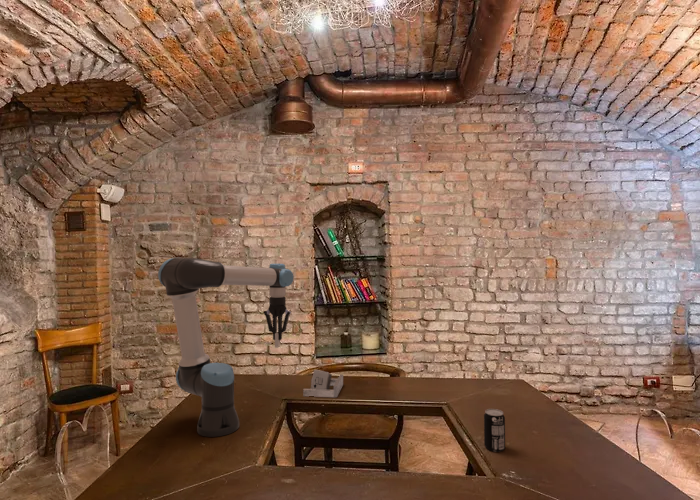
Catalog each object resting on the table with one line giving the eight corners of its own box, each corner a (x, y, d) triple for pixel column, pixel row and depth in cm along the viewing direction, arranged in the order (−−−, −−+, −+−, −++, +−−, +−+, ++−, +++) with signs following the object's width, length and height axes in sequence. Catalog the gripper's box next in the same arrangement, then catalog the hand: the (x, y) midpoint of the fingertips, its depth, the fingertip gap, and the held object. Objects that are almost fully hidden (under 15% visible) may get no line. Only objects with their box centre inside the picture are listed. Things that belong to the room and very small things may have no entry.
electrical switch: (310, 389, 207) (311, 369, 208) (317, 388, 211) (318, 368, 212) (324, 393, 201) (326, 373, 202) (332, 391, 205) (333, 371, 206)
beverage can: (488, 441, 149) (488, 406, 149) (508, 447, 145) (507, 411, 145) (481, 448, 144) (480, 412, 144) (500, 454, 140) (500, 417, 140)
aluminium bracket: (336, 397, 196) (336, 386, 196) (303, 396, 198) (303, 385, 198) (343, 384, 213) (343, 374, 213) (312, 383, 216) (312, 373, 216)
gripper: (293, 295, 207) (293, 345, 207) (266, 295, 209) (266, 344, 209) (288, 297, 200) (288, 349, 199) (261, 297, 202) (261, 348, 201)
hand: (277, 346), depth 204 cm, fingers closed
